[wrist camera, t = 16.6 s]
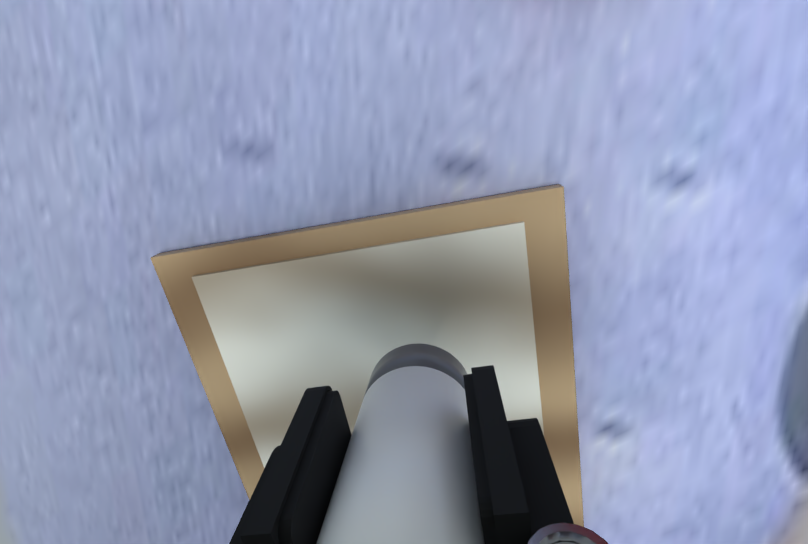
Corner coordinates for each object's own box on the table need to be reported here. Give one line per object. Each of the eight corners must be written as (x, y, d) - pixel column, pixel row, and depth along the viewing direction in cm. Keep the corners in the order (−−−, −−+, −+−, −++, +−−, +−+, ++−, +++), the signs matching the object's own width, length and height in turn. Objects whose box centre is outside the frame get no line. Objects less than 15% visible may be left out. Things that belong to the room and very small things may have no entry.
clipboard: (582, 564, 22) (593, 594, 21) (292, 584, 24) (283, 613, 23) (558, 183, 16) (571, 190, 14) (159, 253, 17) (135, 265, 16)
